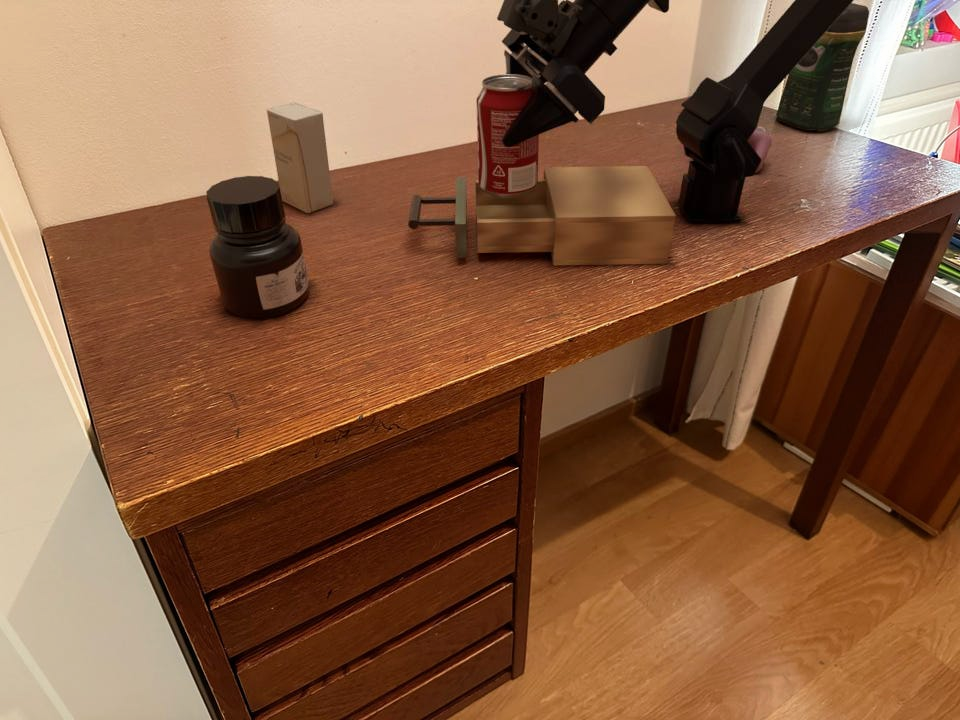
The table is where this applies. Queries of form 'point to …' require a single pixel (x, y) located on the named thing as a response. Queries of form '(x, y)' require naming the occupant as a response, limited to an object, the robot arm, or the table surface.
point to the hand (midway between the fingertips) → (496, 133)
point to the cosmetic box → (301, 156)
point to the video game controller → (760, 144)
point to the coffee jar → (824, 74)
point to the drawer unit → (609, 216)
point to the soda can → (496, 111)
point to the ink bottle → (255, 248)
